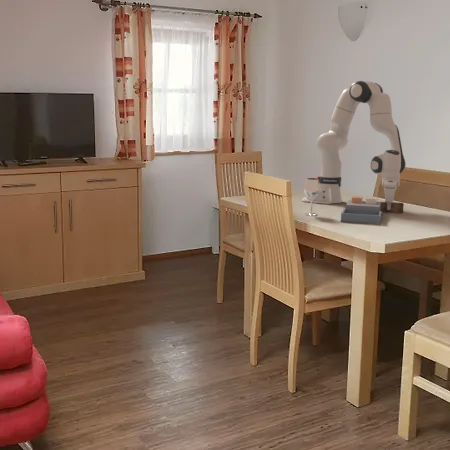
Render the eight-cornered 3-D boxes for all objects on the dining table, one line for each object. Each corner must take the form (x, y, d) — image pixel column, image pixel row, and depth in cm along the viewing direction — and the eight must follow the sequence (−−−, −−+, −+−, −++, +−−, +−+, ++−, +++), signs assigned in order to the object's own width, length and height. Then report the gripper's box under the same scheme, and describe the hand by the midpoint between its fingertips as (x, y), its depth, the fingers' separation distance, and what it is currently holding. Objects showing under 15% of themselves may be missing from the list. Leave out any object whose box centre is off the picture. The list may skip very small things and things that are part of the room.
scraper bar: (374, 212, 315) (375, 202, 314) (374, 211, 317) (375, 201, 316) (402, 213, 312) (403, 203, 311) (402, 212, 315) (403, 202, 314)
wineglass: (301, 212, 309) (303, 177, 305) (318, 213, 309) (319, 177, 306) (304, 216, 301) (305, 179, 297) (320, 216, 301) (322, 180, 298)
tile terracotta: (351, 202, 306) (351, 197, 305) (352, 201, 311) (352, 196, 310) (361, 203, 304) (362, 198, 304) (362, 201, 309) (362, 196, 309)
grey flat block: (345, 216, 301) (346, 204, 299) (348, 211, 314) (348, 200, 312) (378, 218, 296) (379, 206, 295) (380, 213, 309) (380, 202, 308)
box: (340, 221, 289) (341, 213, 288) (343, 216, 301) (343, 208, 300) (379, 224, 284) (380, 215, 283) (380, 219, 296) (381, 211, 295)
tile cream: (365, 203, 304) (366, 198, 303) (366, 201, 309) (366, 197, 308) (376, 204, 303) (376, 199, 302) (376, 202, 307) (376, 197, 307)
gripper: (385, 179, 322) (383, 205, 325) (383, 184, 303) (381, 211, 306) (397, 180, 321) (395, 205, 323) (396, 185, 301) (394, 212, 304)
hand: (388, 208), depth 314 cm, fingers closed on scraper bar, 3 cm apart
